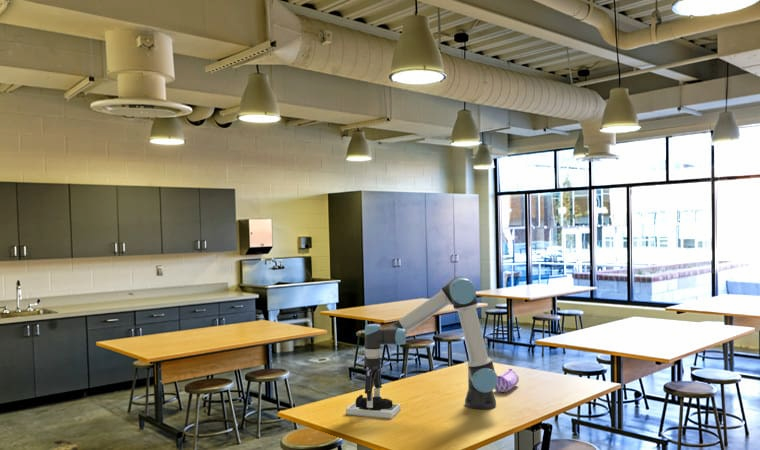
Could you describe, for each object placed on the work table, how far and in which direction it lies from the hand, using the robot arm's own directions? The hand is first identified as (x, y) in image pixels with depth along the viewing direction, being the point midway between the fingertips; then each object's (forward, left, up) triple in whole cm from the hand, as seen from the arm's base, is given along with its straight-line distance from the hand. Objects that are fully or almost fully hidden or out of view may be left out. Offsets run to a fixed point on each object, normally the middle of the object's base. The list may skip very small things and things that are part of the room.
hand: (373, 404), depth 284 cm
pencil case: (-54, -64, -4) cm, 84 cm away
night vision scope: (0, 0, -3) cm, 3 cm away
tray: (0, 0, -4) cm, 4 cm away
